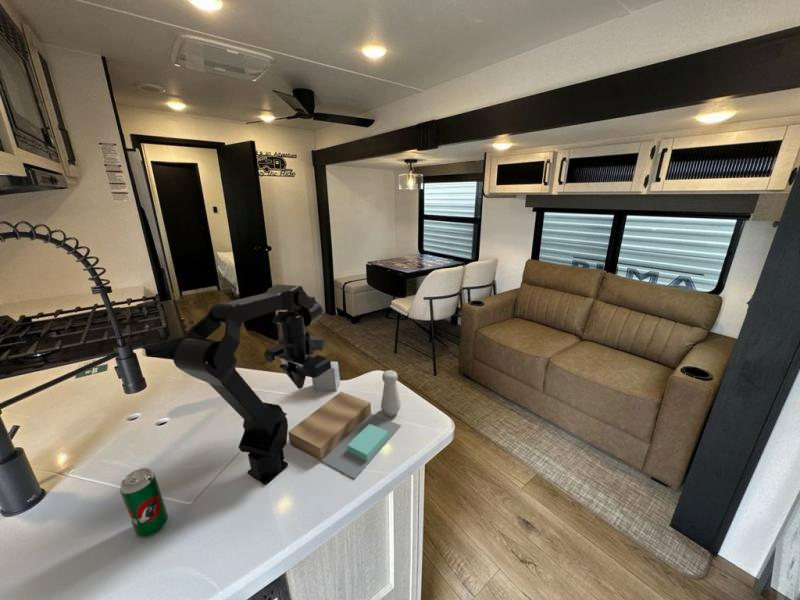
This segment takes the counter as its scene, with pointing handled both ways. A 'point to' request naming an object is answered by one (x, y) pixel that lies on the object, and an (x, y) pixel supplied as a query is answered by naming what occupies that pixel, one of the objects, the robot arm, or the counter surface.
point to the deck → (329, 425)
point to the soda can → (144, 502)
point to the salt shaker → (390, 394)
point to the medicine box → (328, 379)
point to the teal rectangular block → (367, 442)
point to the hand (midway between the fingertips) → (300, 387)
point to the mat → (350, 462)
